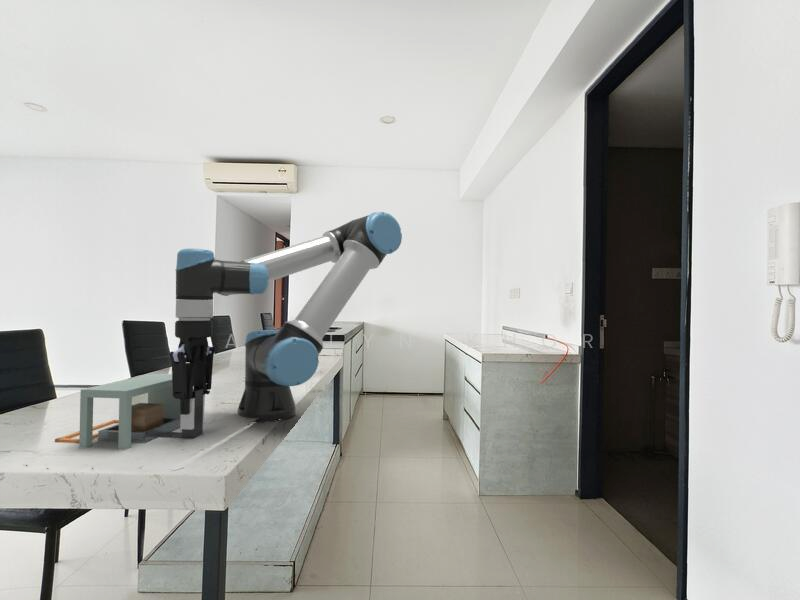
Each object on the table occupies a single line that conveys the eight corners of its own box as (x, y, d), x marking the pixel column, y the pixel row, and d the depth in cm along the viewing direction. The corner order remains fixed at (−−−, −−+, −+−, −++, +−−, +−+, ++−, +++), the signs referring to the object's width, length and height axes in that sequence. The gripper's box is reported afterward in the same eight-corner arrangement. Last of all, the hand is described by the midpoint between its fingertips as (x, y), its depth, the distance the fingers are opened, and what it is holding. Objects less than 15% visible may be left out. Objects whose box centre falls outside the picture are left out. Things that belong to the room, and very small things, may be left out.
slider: (213, 431, 100) (214, 385, 100) (181, 448, 88) (182, 395, 88) (138, 428, 102) (139, 383, 102) (97, 444, 90) (98, 392, 91)
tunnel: (189, 426, 105) (190, 374, 106) (125, 454, 85) (126, 391, 85) (151, 424, 107) (152, 373, 107) (79, 452, 86) (80, 389, 86)
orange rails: (136, 426, 104) (137, 420, 104) (80, 447, 89) (80, 440, 89) (114, 425, 105) (114, 419, 105) (54, 446, 89) (54, 439, 89)
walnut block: (163, 430, 98) (163, 403, 98) (144, 438, 92) (145, 409, 92) (139, 429, 99) (139, 402, 99) (119, 436, 93) (119, 408, 93)
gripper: (199, 318, 103) (198, 416, 103) (153, 320, 87) (151, 436, 87) (229, 318, 102) (227, 417, 102) (187, 320, 86) (185, 438, 86)
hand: (192, 426), depth 94 cm, fingers closed on slider, 3 cm apart
